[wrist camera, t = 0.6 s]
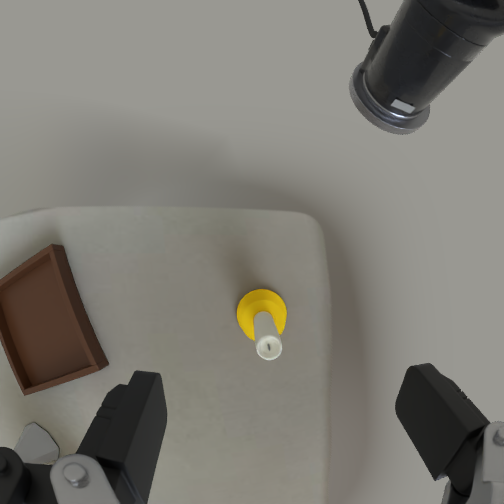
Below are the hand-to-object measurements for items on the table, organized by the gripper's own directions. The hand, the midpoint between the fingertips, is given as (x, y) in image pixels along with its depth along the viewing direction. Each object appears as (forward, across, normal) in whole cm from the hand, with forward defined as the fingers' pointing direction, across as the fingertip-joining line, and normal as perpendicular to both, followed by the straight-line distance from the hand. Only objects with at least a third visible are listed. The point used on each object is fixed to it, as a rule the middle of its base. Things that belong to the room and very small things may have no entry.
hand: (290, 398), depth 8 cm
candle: (+22, -1, +7) cm, 23 cm away
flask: (+16, +32, +30) cm, 47 cm away
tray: (+22, +27, +11) cm, 37 cm away
